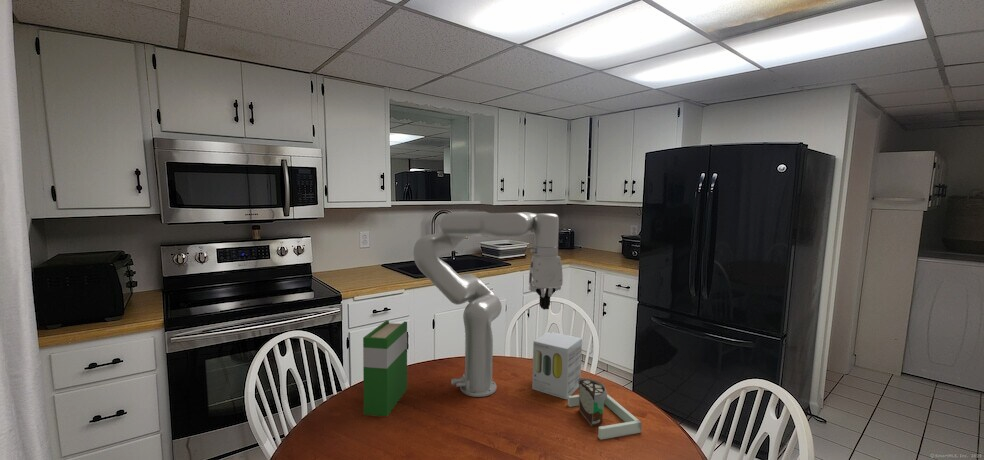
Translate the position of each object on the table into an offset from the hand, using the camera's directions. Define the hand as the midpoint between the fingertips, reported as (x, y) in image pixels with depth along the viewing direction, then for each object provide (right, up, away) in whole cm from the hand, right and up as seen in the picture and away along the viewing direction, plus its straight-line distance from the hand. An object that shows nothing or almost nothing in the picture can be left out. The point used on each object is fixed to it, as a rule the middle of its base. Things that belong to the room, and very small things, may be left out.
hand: (544, 308), depth 128 cm
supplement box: (+6, -31, +12) cm, 34 cm away
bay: (+16, -32, -8) cm, 36 cm away
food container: (+14, -32, -7) cm, 36 cm away
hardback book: (-51, -31, +1) cm, 60 cm away
